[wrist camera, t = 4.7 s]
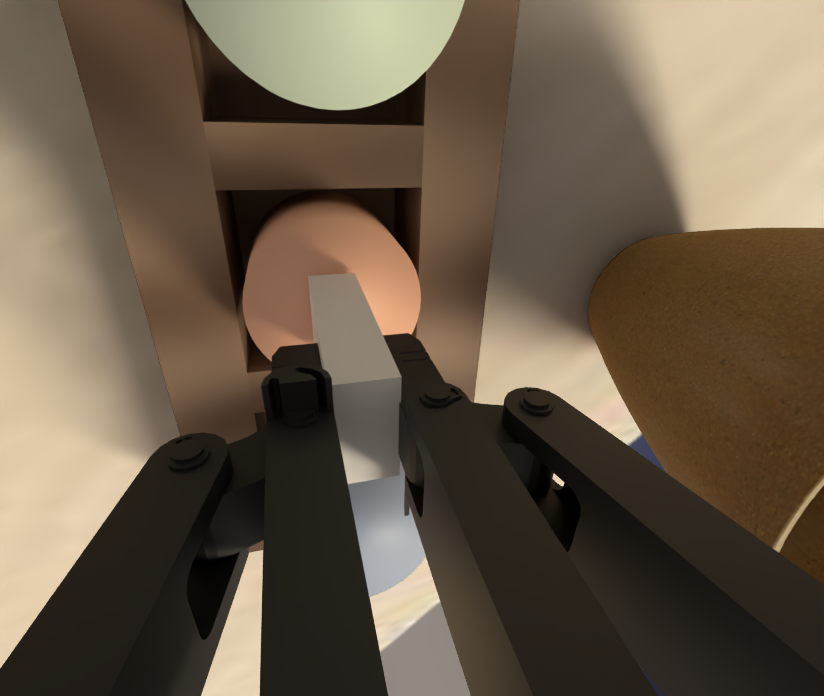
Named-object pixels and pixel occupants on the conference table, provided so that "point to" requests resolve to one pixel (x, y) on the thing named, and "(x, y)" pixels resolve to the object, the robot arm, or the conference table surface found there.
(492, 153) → the wooden compartment tray
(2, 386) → the conference table surface
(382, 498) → the slate cap
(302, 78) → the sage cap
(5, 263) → the conference table surface
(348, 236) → the terracotta cap
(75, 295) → the conference table surface
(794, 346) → the plant pot
